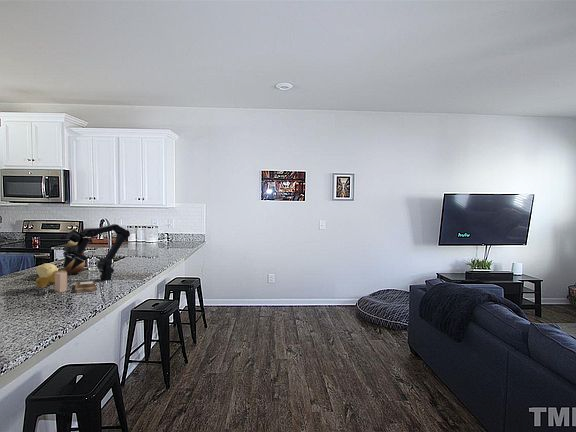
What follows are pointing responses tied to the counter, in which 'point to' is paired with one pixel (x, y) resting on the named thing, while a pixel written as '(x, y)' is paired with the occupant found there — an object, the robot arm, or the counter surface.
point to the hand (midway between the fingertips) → (67, 268)
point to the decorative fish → (47, 279)
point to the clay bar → (61, 281)
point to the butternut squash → (68, 267)
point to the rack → (85, 287)
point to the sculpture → (46, 269)
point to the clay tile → (86, 282)
